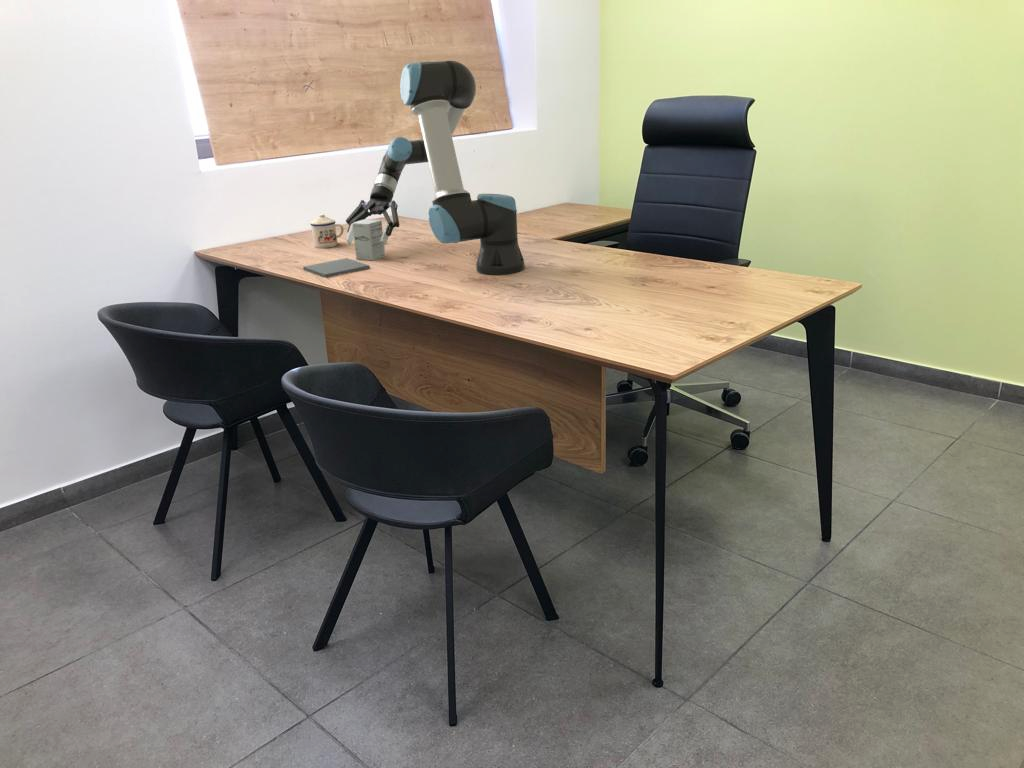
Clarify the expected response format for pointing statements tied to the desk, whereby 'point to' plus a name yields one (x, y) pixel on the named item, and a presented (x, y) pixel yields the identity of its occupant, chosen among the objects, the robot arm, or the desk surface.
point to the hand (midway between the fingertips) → (365, 242)
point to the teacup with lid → (325, 232)
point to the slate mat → (336, 267)
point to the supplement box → (368, 239)
